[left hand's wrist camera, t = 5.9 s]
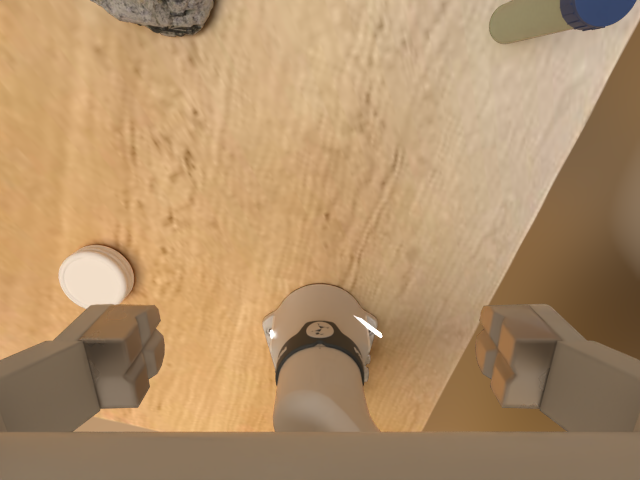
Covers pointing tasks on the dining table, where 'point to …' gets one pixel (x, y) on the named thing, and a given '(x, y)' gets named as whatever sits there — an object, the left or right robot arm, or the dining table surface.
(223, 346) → the dining table surface
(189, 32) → the rock
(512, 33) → the green bottle
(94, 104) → the dining table surface
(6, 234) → the dining table surface
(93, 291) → the white round tin
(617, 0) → the lid
